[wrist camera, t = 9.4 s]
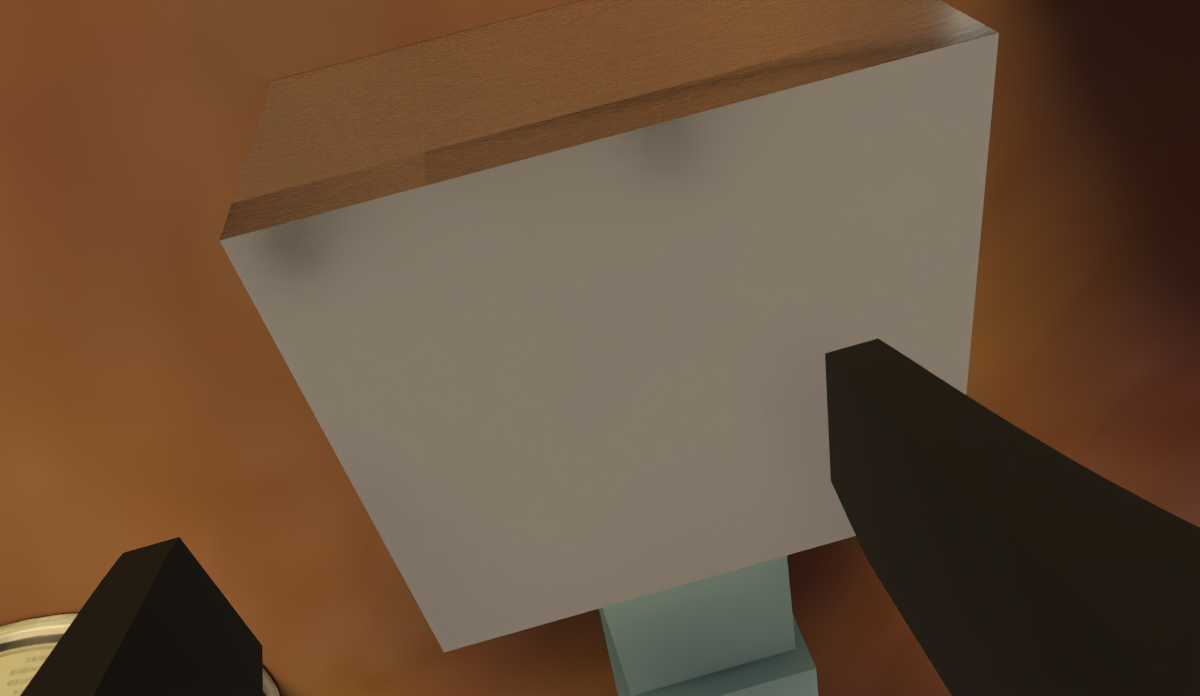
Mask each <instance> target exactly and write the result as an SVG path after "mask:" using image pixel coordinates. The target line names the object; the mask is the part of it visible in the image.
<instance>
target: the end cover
mask: <svg viewBox="0 0 1200 696" xmlns="http://www.w3.org/2000/svg"><path fill="white" fill-rule="evenodd" d="M599 613H600V617H601V621H602V626H603V630H604V635H605V639H606V644H607V648H608V653H609V657H610V662H611V666H612V671H613V675H614V680H615V684H616V689H617V693H618V696H818V685H817V671H816V666H815V664H814V662H813V659H812V657H811V655H810V653H809V650H808V648H807V646H806V643H805V641H804V639H803V636H802V634H801V632H800V630H799V627H798V625H797V623H796V620H795V618H794V616H793V613H792V603H791V593H790V583H789V572H788V562H787V555H786V556H783V557H779V558H776V559H772V560H769V561H765V562H761V563H758V564H754V565H751V566H747V567H744V568H740V569H737V570H733V571H730V572H726V573H723V574H719V575H716V576H712V577H709V578H705V579H701V580H698V581H694V582H691V583H687V584H684V585H680V586H677V587H673V588H670V589H666V590H663V591H659V592H656V593H652V594H649V595H645V596H641V597H638V598H634V599H631V600H627V601H624V602H620V603H617V604H613V605H610V606H606V607H603V608H599Z"/></svg>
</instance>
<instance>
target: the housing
mask: <svg viewBox="0 0 1200 696" xmlns="http://www.w3.org/2000/svg"><path fill="white" fill-rule="evenodd" d="M998 37H999V33H998V32H996V31H995V30H993V29H991V28H989V27H987V26H986V25H984V24H982V23H980V22H978V21H976V20H975V19H973V18H971V17H969V16H967V15H965V14H964V13H962V12H960V11H958V10H956V9H955V8H953V7H951V6H949V5H947V4H945V3H944V2H942V1H940V0H582V1H578V2H575V3H571V4H567V5H563V6H559V7H555V8H552V9H548V10H544V11H540V12H536V13H533V14H529V15H525V16H521V17H517V18H513V19H510V20H506V21H502V22H498V23H494V24H490V25H487V26H483V27H479V28H475V29H471V30H468V31H464V32H460V33H456V34H452V35H448V36H445V37H441V38H437V39H433V40H429V41H425V42H422V43H418V44H414V45H410V46H406V47H403V48H399V49H395V50H391V51H387V52H383V53H380V54H376V55H372V56H368V57H364V58H360V59H357V60H353V61H349V62H345V63H341V64H338V65H334V66H330V67H326V68H322V69H318V70H315V71H311V72H307V73H303V74H299V75H295V76H292V77H288V78H284V79H280V80H276V81H273V82H271V85H270V89H269V92H268V95H267V98H266V101H265V104H264V107H263V110H262V113H261V116H260V119H259V122H258V125H257V128H256V131H255V134H254V137H253V140H252V143H251V146H250V150H249V153H248V156H247V159H246V162H245V165H244V168H243V171H242V174H241V177H240V180H239V183H238V186H237V189H236V192H235V195H234V198H233V201H232V204H231V208H230V211H229V214H228V217H227V220H226V223H225V226H224V229H223V232H222V235H221V238H220V242H221V244H222V246H223V248H224V250H225V251H226V253H227V255H228V257H229V259H230V261H231V262H232V264H233V266H234V268H235V270H236V272H237V273H238V275H239V277H240V279H241V281H242V283H243V284H244V286H245V288H246V290H247V292H248V294H249V295H250V297H251V299H252V301H253V303H254V305H255V306H256V308H257V310H258V312H259V314H260V316H261V317H262V319H263V321H264V323H265V325H266V327H267V328H268V330H269V332H270V334H271V336H272V338H273V339H274V341H275V343H276V345H277V347H278V349H279V351H280V352H281V354H282V356H283V358H284V360H285V362H286V363H287V365H288V367H289V369H290V371H291V373H292V374H293V376H294V378H295V380H296V382H297V384H298V385H299V387H300V389H301V391H302V393H303V395H304V396H305V398H306V400H307V402H308V404H309V406H310V407H311V409H312V411H313V413H314V415H315V417H316V418H317V420H318V422H319V424H320V426H321V428H322V429H323V431H324V433H325V435H326V437H327V439H328V440H329V442H330V444H331V446H332V448H333V450H334V451H335V453H336V455H337V457H338V459H339V461H340V462H341V464H342V466H343V468H344V470H345V472H346V474H347V475H348V477H349V479H350V481H351V483H352V485H353V486H354V488H355V490H356V492H357V494H358V496H359V497H360V499H361V501H362V503H363V505H364V507H365V508H366V510H367V512H368V514H369V516H370V518H371V519H372V521H373V523H374V525H375V527H376V529H377V530H378V532H379V534H380V536H381V538H382V540H383V541H384V543H385V545H386V547H387V549H388V551H389V552H390V554H391V556H392V558H393V560H394V562H395V563H396V565H397V567H398V569H399V571H400V573H401V574H402V576H403V578H404V580H405V582H406V584H407V586H408V587H409V589H410V591H411V593H412V595H413V597H414V598H415V600H416V602H417V604H418V606H419V608H420V609H421V611H422V613H423V615H424V617H425V619H426V620H427V622H428V624H429V626H430V628H431V630H432V631H433V633H434V635H435V637H436V639H437V641H438V642H439V644H440V646H441V648H442V650H443V652H447V651H451V650H454V649H458V648H461V647H465V646H468V645H472V644H476V643H479V642H483V641H486V640H490V639H493V638H497V637H500V636H504V635H507V634H511V633H514V632H518V631H521V630H525V629H529V628H532V627H536V626H539V625H543V624H546V623H550V622H553V621H557V620H560V619H564V618H567V617H571V616H574V615H578V614H581V613H585V612H589V611H592V610H596V609H599V608H603V607H606V606H610V605H613V604H617V603H620V602H624V601H627V600H631V599H634V598H638V597H641V596H645V595H649V594H652V593H656V592H659V591H663V590H666V589H670V588H673V587H677V586H680V585H684V584H687V583H691V582H694V581H698V580H701V579H705V578H709V577H712V576H716V575H719V574H723V573H726V572H730V571H733V570H737V569H740V568H744V567H747V566H751V565H754V564H758V563H761V562H765V561H769V560H772V559H776V558H779V557H783V556H786V555H790V554H793V553H797V552H800V551H804V550H807V549H811V548H814V547H818V546H822V545H825V544H829V543H832V542H836V541H839V540H843V539H846V538H850V537H853V536H856V534H855V532H854V530H853V528H852V526H851V524H850V522H849V520H848V517H847V515H846V513H845V511H844V509H843V507H842V504H841V502H840V500H839V498H838V496H837V493H836V491H835V489H834V487H833V485H832V482H831V476H830V453H829V431H828V409H827V387H826V364H825V353H828V352H832V351H835V350H839V349H842V348H846V347H850V346H853V345H857V344H860V343H864V342H867V341H871V340H874V339H880V340H881V341H883V342H885V343H886V344H888V345H889V346H891V347H893V348H894V349H896V350H897V351H899V352H900V353H902V354H904V355H905V356H907V357H908V358H910V359H911V360H913V361H914V362H916V363H917V364H919V365H921V366H922V367H924V368H925V369H927V370H928V371H930V372H931V373H933V374H934V375H936V376H937V377H939V378H940V379H942V380H944V381H945V382H947V383H948V384H950V385H951V386H953V387H954V388H956V389H957V390H959V391H961V392H962V393H964V394H965V395H966V391H967V380H968V369H969V358H970V347H971V336H972V325H973V313H974V302H975V291H976V280H977V269H978V258H979V247H980V236H981V225H982V214H983V203H984V192H985V181H986V170H987V159H988V148H989V137H990V126H991V115H992V104H993V93H994V82H995V71H996V59H997V48H998Z"/></svg>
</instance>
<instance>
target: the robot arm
mask: <svg viewBox="0 0 1200 696" xmlns="http://www.w3.org/2000/svg"><path fill="white" fill-rule="evenodd" d="M825 364H826V387H827V409H828V431H829V453H830V476H831V482H832V485H833V487H834V489H835V491H836V493H837V496H838V498H839V500H840V502H841V504H842V507H843V509H844V511H845V513H846V515H847V517H848V520H849V522H850V524H851V526H852V528H853V530H854V532H855V534H856V537H857V539H858V541H859V543H860V545H861V547H862V549H863V551H864V553H865V555H866V557H867V559H868V561H869V563H870V564H871V566H872V568H873V569H874V571H875V573H876V574H877V576H878V578H879V579H880V581H881V582H882V584H883V586H884V587H885V589H886V590H887V592H888V594H889V595H890V597H891V599H892V600H893V602H894V603H895V605H896V607H897V608H898V610H899V612H900V613H901V615H902V616H903V618H904V620H905V621H906V623H907V624H908V626H909V628H910V629H911V631H912V632H913V634H914V636H915V637H916V639H917V640H918V642H919V644H920V645H921V647H922V648H923V650H924V652H925V653H926V655H927V656H928V658H929V660H930V661H931V663H932V664H933V666H934V668H935V669H936V671H937V672H938V674H939V676H940V677H941V679H942V680H943V682H944V684H945V685H946V687H947V688H948V690H949V692H950V693H951V695H952V696H1200V528H1199V527H1197V526H1195V525H1193V524H1191V523H1189V522H1187V521H1185V520H1183V519H1181V518H1179V517H1177V516H1175V515H1173V514H1171V513H1169V512H1167V511H1165V510H1163V509H1161V508H1159V507H1158V506H1156V505H1154V504H1152V503H1150V502H1148V501H1146V500H1144V499H1143V498H1141V497H1139V496H1137V495H1135V494H1133V493H1131V492H1129V491H1128V490H1126V489H1124V488H1122V487H1120V486H1118V485H1116V484H1114V483H1113V482H1111V481H1109V480H1107V479H1105V478H1103V477H1101V476H1100V475H1098V474H1096V473H1094V472H1093V471H1091V470H1089V469H1087V468H1086V467H1084V466H1082V465H1080V464H1079V463H1077V462H1075V461H1073V460H1071V459H1070V458H1068V457H1066V456H1065V455H1063V454H1061V453H1060V452H1058V451H1056V450H1055V449H1053V448H1051V447H1050V446H1048V445H1046V444H1045V443H1043V442H1041V441H1040V440H1038V439H1036V438H1035V437H1033V436H1031V435H1030V434H1028V433H1026V432H1025V431H1023V430H1021V429H1020V428H1018V427H1016V426H1015V425H1013V424H1011V423H1010V422H1008V421H1006V420H1005V419H1003V418H1002V417H1000V416H998V415H997V414H995V413H994V412H992V411H990V410H989V409H987V408H986V407H984V406H982V405H981V404H979V403H978V402H976V401H975V400H973V399H972V398H970V397H968V396H967V395H965V394H964V393H962V392H961V391H959V390H957V389H956V388H954V387H953V386H951V385H950V384H948V383H947V382H945V381H944V380H942V379H940V378H939V377H937V376H936V375H934V374H933V373H931V372H930V371H928V370H927V369H925V368H924V367H922V366H921V365H919V364H917V363H916V362H914V361H913V360H911V359H910V358H908V357H907V356H905V355H904V354H902V353H900V352H899V351H897V350H896V349H894V348H893V347H891V346H889V345H888V344H886V343H885V342H883V341H881V340H880V339H874V340H871V341H867V342H864V343H860V344H857V345H853V346H850V347H846V348H842V349H839V350H835V351H832V352H828V353H825ZM20 696H263V663H262V645H261V644H260V642H259V641H258V640H257V638H256V637H255V636H254V634H253V633H252V632H251V630H250V629H249V628H248V627H247V625H246V624H245V623H244V621H243V620H242V619H241V617H240V616H239V615H238V613H237V612H236V611H235V610H234V608H233V607H232V606H231V604H230V603H229V602H228V600H227V599H226V598H225V596H224V595H223V594H222V593H221V591H220V590H219V589H218V587H217V586H216V585H215V583H214V582H213V581H212V579H211V578H210V577H209V575H208V574H207V573H206V572H205V570H204V569H203V568H202V566H201V565H200V564H199V562H198V561H197V560H196V558H195V557H194V556H193V555H192V553H191V552H190V551H189V549H188V548H187V547H186V545H185V544H184V543H183V541H182V540H181V539H180V538H179V537H178V538H174V539H171V540H167V541H164V542H160V543H157V544H153V545H150V546H146V547H143V548H139V549H136V550H132V551H129V552H125V553H123V554H122V555H121V556H120V558H119V559H118V560H117V562H116V563H115V564H114V565H113V567H112V568H111V569H110V571H109V572H108V573H107V575H106V576H105V577H104V579H103V580H102V581H101V583H100V584H99V585H98V587H97V588H96V590H95V591H94V592H93V594H92V595H91V596H90V598H89V599H88V601H87V602H86V603H85V605H84V606H83V608H82V609H81V610H80V612H79V613H78V615H77V616H76V617H75V619H74V620H73V622H72V623H71V625H70V626H69V627H68V629H67V630H66V632H65V633H64V634H63V636H62V637H61V639H60V640H59V642H58V643H57V644H56V646H55V647H54V649H53V650H52V651H51V653H50V654H49V656H48V657H47V659H46V660H45V661H44V663H43V664H42V666H41V667H40V668H39V670H38V671H37V673H36V674H35V675H34V677H33V678H32V680H31V681H30V682H29V684H28V685H27V687H26V688H25V689H24V691H23V692H22V694H21V695H20Z"/></svg>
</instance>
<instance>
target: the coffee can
mask: <svg viewBox="0 0 1200 696" xmlns="http://www.w3.org/2000/svg"><path fill="white" fill-rule="evenodd" d="M77 615H78V613H71V614H59V615H51V616H45V617H39V618H33V619H28V620H24V621H20V622H15V623H12V624H8V625H4V626H1V627H0V696H20V695H21V694H22V692H23V691H24V689H25V688H26V687H27V685H28V684H29V682H30V681H31V680H32V678H33V677H34V675H35V674H36V673H37V671H38V670H39V668H40V667H41V666H42V664H43V663H44V661H45V660H46V659H47V657H48V656H49V654H50V653H51V651H52V650H53V649H54V647H55V646H56V644H57V643H58V642H59V640H60V639H61V637H62V636H63V634H64V633H65V632H66V630H67V629H68V627H69V626H70V625H71V623H72V622H73V620H74V619H75V617H76V616H77ZM263 696H280V695H279V691H278V689H277V687H276V685H275V683H274V681H273V680H272V678H271V676H270V675H269V674H268V673H267V671H266V670H265V669H264V668H263Z"/></svg>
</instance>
